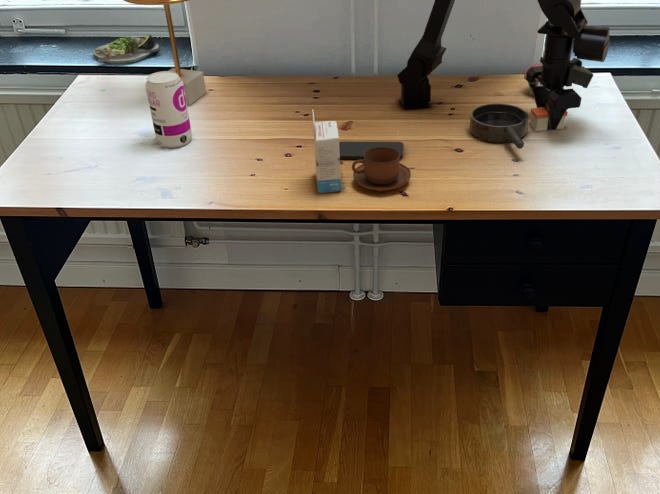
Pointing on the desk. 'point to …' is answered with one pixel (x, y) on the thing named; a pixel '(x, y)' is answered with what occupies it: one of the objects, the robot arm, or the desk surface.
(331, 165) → the ink box
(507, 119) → the pan
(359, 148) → the phone
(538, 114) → the sushi
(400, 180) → the cup and saucer
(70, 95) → the desk surface
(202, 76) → the lamp
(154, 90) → the supplement can
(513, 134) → the pan handle
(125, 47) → the salad plate
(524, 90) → the desk surface
